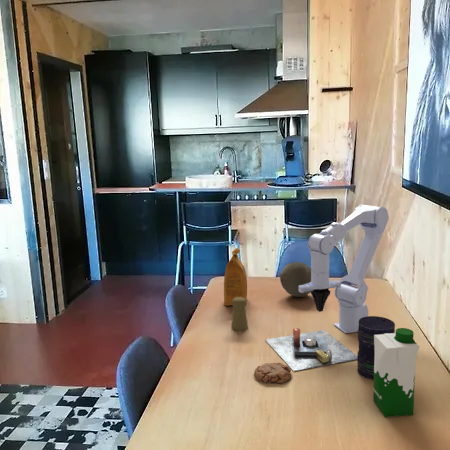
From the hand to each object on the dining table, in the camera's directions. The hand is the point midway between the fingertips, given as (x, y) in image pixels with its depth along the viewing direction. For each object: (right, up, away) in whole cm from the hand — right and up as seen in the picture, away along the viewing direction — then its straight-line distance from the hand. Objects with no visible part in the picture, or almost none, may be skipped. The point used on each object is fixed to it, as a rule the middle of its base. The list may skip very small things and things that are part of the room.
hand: (319, 310), depth 149 cm
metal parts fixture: (-4, -11, -8) cm, 14 cm away
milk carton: (+10, -17, -38) cm, 42 cm away
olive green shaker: (-26, -9, +13) cm, 30 cm away
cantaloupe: (-1, -2, +42) cm, 42 cm away
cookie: (-18, -15, -21) cm, 31 cm away
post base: (-4, -11, -6) cm, 13 cm away
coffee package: (-27, -4, +38) cm, 47 cm away
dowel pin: (0, -13, -13) cm, 18 cm away
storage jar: (+11, -14, -20) cm, 27 cm away
